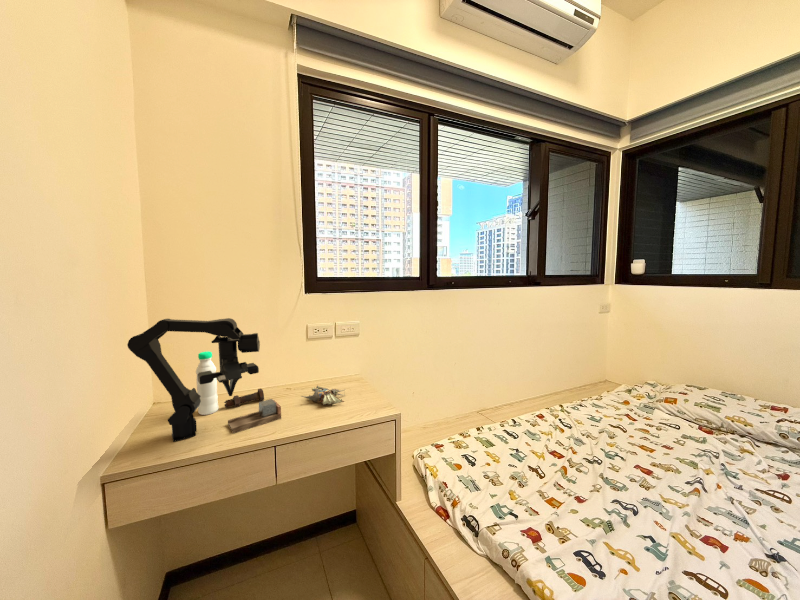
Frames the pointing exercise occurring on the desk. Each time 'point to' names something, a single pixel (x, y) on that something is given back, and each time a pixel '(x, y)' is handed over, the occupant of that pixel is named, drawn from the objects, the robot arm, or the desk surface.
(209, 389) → the water bottle
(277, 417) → the track
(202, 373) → the robot arm
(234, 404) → the bolt
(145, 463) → the desk surface
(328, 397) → the figurine
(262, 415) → the block
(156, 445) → the desk surface
